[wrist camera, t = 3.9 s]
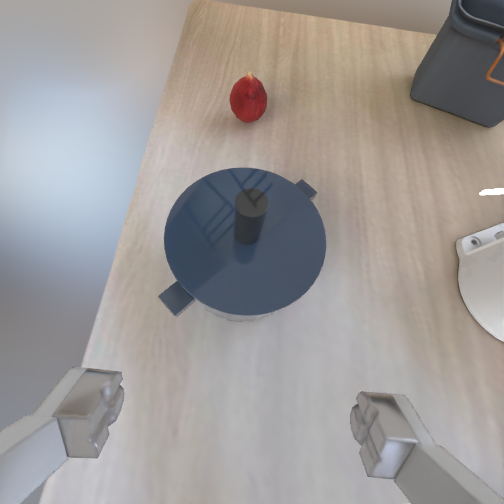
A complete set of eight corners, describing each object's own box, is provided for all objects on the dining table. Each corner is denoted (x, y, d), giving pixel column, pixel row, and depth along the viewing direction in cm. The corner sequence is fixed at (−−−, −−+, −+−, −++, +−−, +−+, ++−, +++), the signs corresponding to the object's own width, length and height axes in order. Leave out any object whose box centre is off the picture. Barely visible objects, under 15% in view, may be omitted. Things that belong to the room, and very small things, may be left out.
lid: (352, 243, 27) (390, 210, 20) (243, 356, 22) (249, 357, 16) (248, 152, 30) (254, 99, 24) (133, 232, 25) (102, 192, 19)
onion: (269, 118, 44) (278, 71, 37) (252, 138, 42) (257, 93, 35) (241, 103, 45) (244, 53, 38) (223, 122, 43) (222, 74, 36)
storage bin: (506, 98, 52) (601, 10, 39) (505, 152, 46) (617, 72, 33) (405, 63, 53) (463, -33, 40) (392, 111, 48) (455, 18, 34)
